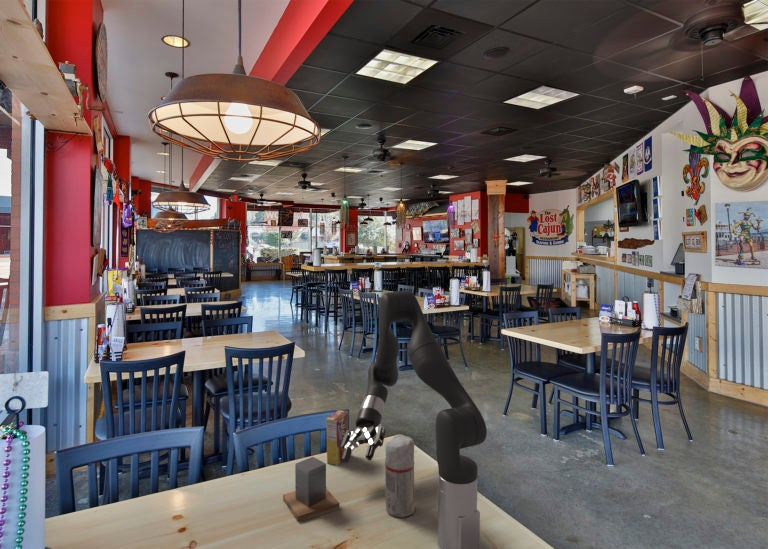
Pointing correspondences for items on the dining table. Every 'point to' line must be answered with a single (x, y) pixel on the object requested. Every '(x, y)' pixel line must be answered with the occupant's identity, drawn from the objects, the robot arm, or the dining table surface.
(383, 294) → the robot arm
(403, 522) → the dining table surface
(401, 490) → the white spray can
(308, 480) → the brushed steel block
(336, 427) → the candy box
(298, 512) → the wooden square base
